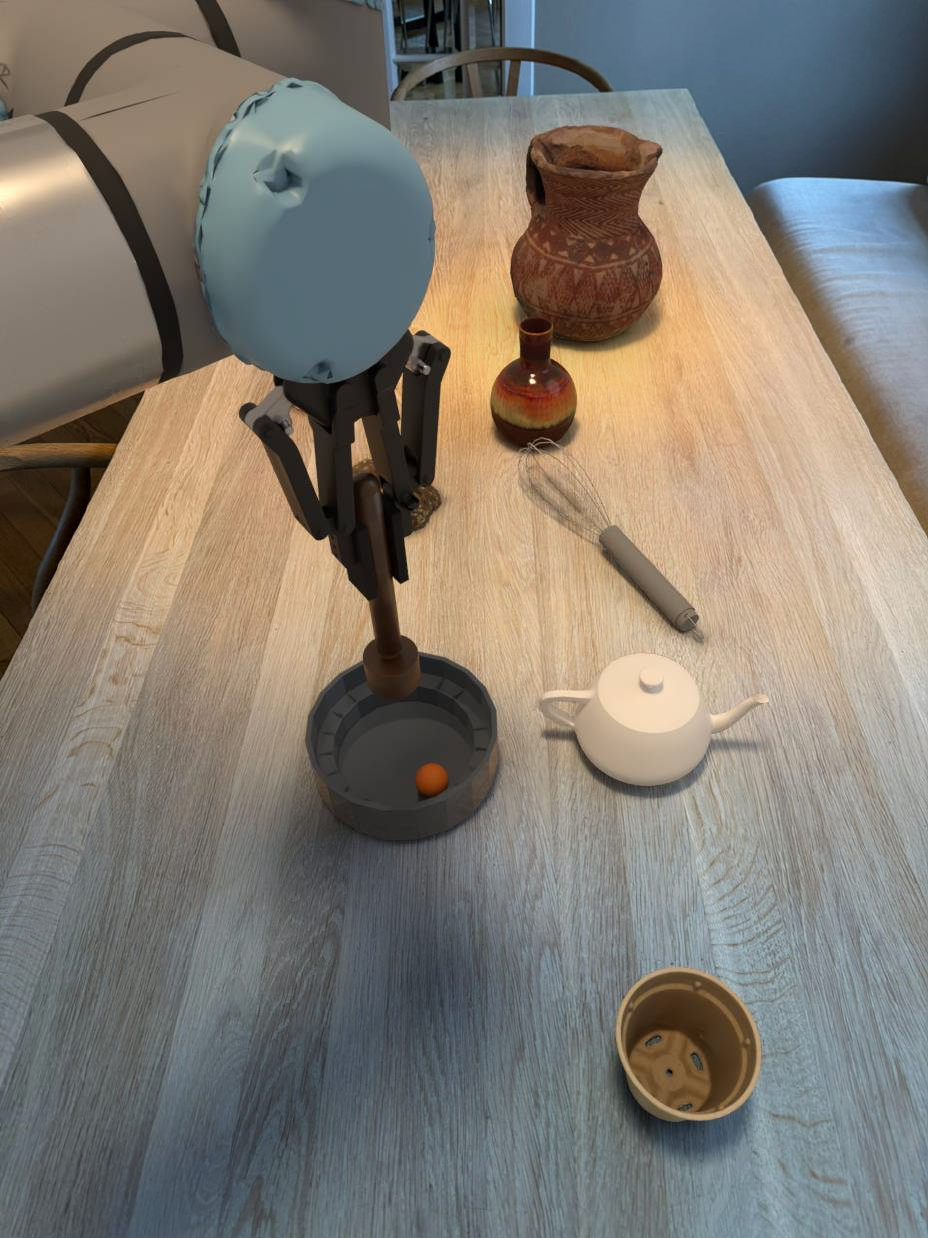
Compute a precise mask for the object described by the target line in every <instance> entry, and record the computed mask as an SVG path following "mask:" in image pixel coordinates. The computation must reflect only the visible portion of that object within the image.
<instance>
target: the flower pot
mask: <svg viewBox="0 0 928 1238" xmlns="http://www.w3.org/2000/svg"><path fill="white" fill-rule="evenodd" d="M615 1023H616V1025H615V1042H616V1047H617V1053H618V1056H619V1060H620V1062H621V1065H622V1068H623V1069H624V1071H625V1077H626V1082H627V1085H628V1087H629V1090H630V1092H631V1094H632V1096H633V1097H634V1099H635V1100H636V1102H637V1103H638V1104H639V1106H641V1108H642V1109H644V1110H645V1111H646V1112H648V1113H649V1114H650V1115H652V1116H654V1117H656V1118H658V1119H660V1120H663V1121H666V1122H673V1123H679V1122H685V1121H695V1122H699V1121H700V1122H705V1121H707V1122H708V1121H712V1120H717V1119H721V1118H724V1117H726V1116H727V1115H729V1114H731V1113H733V1112H735V1111H736V1110H737V1109H739V1108H740V1107H741V1106H742V1105H743V1104H744V1103H745V1102H746V1101H747V1100H748V1099H749V1098H750V1096H751V1095H752V1093H753V1091H754V1089H755V1088H756V1085H757V1083H758V1080H759V1077H760V1074H761V1071H762V1070H761V1069H762V1058H763V1052H762V1051H763V1049H762V1041H761V1036H760V1033H759V1030H758V1027H757V1023H756V1022H755V1020H754V1017H753V1015H752V1014H751V1012H750V1010H749V1008H748V1007H747V1005H746V1004H745V1003H744V1001H743V1000H742V999H741V998H740V997H739V995H738V994H737V993H736V992H735V991H734V990H733V989H731V987H729V986H728V985H726V983H725V982H723V981H722V980H721V979H719V978H718V977H716V976H714V975H712V974H710V973H708V972H705V971H702V970H700V969H698V968H697V969H696V968H692V967H685V966H672V967H664V968H661V969H658V970H655V971H652V972H650V973H648V974H646V975H644V976H642V977H641V978H640V979H639V980H638V981H636V982H635V983H634V984H633V985H632V986H631V988H630V989H628V991H627V993H626V994H625V995H624V998H623V1000H622V1002H621V1004H620V1006H619V1009H618V1012H617V1017H616V1022H615ZM656 1037H660V1041H659V1042H653V1043H652V1044H650V1045H646V1044H647V1043H648V1042H649V1041H650V1040H652V1039H654V1038H656ZM693 1054H695V1055H696V1056H697V1057H698V1059H699V1062H700V1065H701V1067H702V1069H698V1067H697V1065H696V1063H695V1060H694V1059H693V1057H692V1055H693ZM669 1070H670V1071H671V1075H669V1074H668V1073H667V1072H668V1071H669ZM689 1104H690V1105H691V1107H689V1108H687V1109H685V1110H680V1108H682V1107H683V1106H687V1105H689Z"/></svg>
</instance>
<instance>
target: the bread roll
mask: <svg viewBox="0 0 928 1238" xmlns="http://www.w3.org/2000/svg"><path fill="white" fill-rule="evenodd" d="M352 471H353V476H354V475H355V474H357V473H359V472H363V471H366V472H370V473H372V474H374V475H375V476H376V473H375V469H374V466H373V462H372V458H371V459H370V458H368V457H366V458H364V459H363V460H361V461H358V462H356V464H354V465H352ZM381 493H382V494H383V489H381ZM413 494H414V495H415V496H416V497H417V498H418V499H419V500H420V503H419V506H418V507H417V509H416V510H414V511H413V512H411V515H412V524H413V529H412V531H414V530H417V529H418V528H420V527H421V526H422V525H424V523H425V521H426V520H427V518H428V517H429V514H430V512H431V511H432V510H433V508H437V507H438V505H439V504H440V502H442V498H441V494H440V493H439V490H438V489H437V488H435V487H434V486H433V485H432V484H431V485H430V486H428V487H425V488H424V487H421V486H420V487H419V488H418V489H417V490H416V491H415V492H414V493H413Z"/></svg>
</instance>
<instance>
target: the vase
mask: <svg viewBox="0 0 928 1238" xmlns="http://www.w3.org/2000/svg"><path fill="white" fill-rule="evenodd" d="M552 334H553V323H552V322H551V321H550V320H549V319H547V318H544V317H537V316H535V317H526V318H523V319H522V320H520V322H519V324H518V339H519V357H518V358H516V359H514V360H512V361H510V362H509V363H508V364H507V365H506V366H505V367H503V368H502V370H501V371H500V372H499V373H498V374H497V376H496V378H495V379H494V382H493V385H492V387H491V391H490V399H489V404H490V405H489V406H490V414H491V418H492V421H493V423H494V426H495V428H496V430H497V432H498V433H499V434H500V436H501V437H502V438H503V439H504V440H505V441H507V442H508V443H509V444H511V445H513V446H515V447H518V448H520V449H523V448H529V447H530V446H531V445H530V444H529V447H528V443H531V444H532V443H533V442H534V441H535V440H537V439H539V438H546V439H550V440H551V441H553V442H554V443H555V444H557V443H558V442H559V441H561V440H562V439H563V438H564V436H566V434H567V433H568V431H569V430H570V428H571V426H572V424H573V422H574V419H575V416H576V412H577V406H578V394H577V393H578V392H577V389H576V385H575V382H574V380H573V377H572V376H571V374H570V373H569V371H568V370H567V369H566V368H565V367H564V365H562V364H561V363H559V362H558V361H557V360H554V358H551V351H552V350H551V349H552V342H553V336H552ZM546 439H539V440H537V441H535V442H534V444H533V445H536V444H538V443H540V442H551V441H549V440H546ZM553 445H554V444H551V443H541V444H538V445H536V446H535V447H536V448H537V449H540V450H542V449H546V448H549V447H550V446H553ZM532 448H534V447H532Z"/></svg>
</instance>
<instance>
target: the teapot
mask: <svg viewBox="0 0 928 1238" xmlns="http://www.w3.org/2000/svg"><path fill="white" fill-rule="evenodd" d="M555 702H556V703H557V702H562V703H563V702H567V703H575V704H576V706H575V709H574V715H573V716H572V715H570V713H569V712H567V711H565V710H563V709H561V708H559V707H557V706H556V705H555V704H554V703H555ZM767 703H770V698H769V696H768V695H767V694H764V693H753V694H752V695H751V696H749V697H748V698H745V699H743V701H741V702H740V703H738V704H736V705H735V706H734V707H732V708H731V709H730V710H727V711H725V712H720V713H716V714H712V713H711V712H710V710H709V708H708V705H707V702H706V699H705V695H704V693H703V690H702V688H701V686H700V684H699V682H698V681H697V680H696V679H695V677H694V676H693V675H692V674H691V673H690V672H689V671H688V670H687V669H686V668H685V667H684V666H682V664H680V663H679V662H677V661H675V660H673V659H671V658H670V657H667V656H665V655H660V654H658V653H657V654H656V653H652V652H651V653H649V652H637V653H636V652H635V653H630V654H625V655H623V656H620V657H617V658H616V659H614V660H612V661H611V662H609V663H608V664H606V665H605V666H603V667H602V668H601V669H600V670H599V671H598V672H597V673H596V674H595V676H594V677H593V678H592V679H591V681H590V682H589V683H588V684H587V686H586V688H584V689H583V690H582V689H581V690H575V689H554V690H548V691H545V692H544V693H542V695H541V696H540V699H539V710H540V712H541V714H542V715H543V716H544V717H545V718H547V719H548V720H550V721H552V722H554V723H555V724H557V725H558V726H561V727H567V728H571V729H574V731H575V735H576V738H577V739H576V740H577V742H578V744H579V746H580V748H581V751H583V753H584V754H585V756H586V757H587V758H588V760H589V761H590V762H591V764H593V765H594V766H595V767H596V768H597V769H598V770H600V771H601V772H603V773H604V775H607V776H609V777H610V778H612V779H614V780H617V781H620V782H622V783H625V784H630V785H633V786H640V787H643V786H644V787H653V786H663V785H666V784H669V783H672V782H675V781H677V780H679V779H682V778H683V777H686V776H687V775H688V774H689V773H691V772H692V771H693V770H694V769H695V768H696V767H697V766H698V765H699V764H700V763H701V761H702V760H703V758H704V756H705V755H706V753H707V750H708V747H709V745H710V741H711V736H712V735H713V734H714V735H715V734H719V733H722V732H724V731H726V730H728V729H729V728H731V727H733V726H734V725H736V723H738V722H739V721H740V720H741V719H743V718H744V717H745V716H746V715H747V714H748V713H749V712H750V711H752V710H753V709H755V708H756V707H758V706H761V705H763V704H767Z"/></svg>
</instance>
